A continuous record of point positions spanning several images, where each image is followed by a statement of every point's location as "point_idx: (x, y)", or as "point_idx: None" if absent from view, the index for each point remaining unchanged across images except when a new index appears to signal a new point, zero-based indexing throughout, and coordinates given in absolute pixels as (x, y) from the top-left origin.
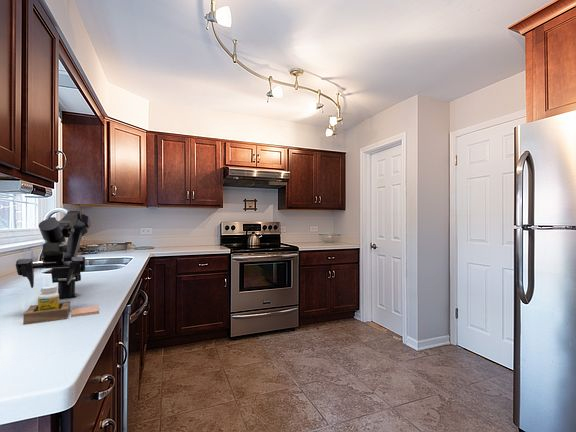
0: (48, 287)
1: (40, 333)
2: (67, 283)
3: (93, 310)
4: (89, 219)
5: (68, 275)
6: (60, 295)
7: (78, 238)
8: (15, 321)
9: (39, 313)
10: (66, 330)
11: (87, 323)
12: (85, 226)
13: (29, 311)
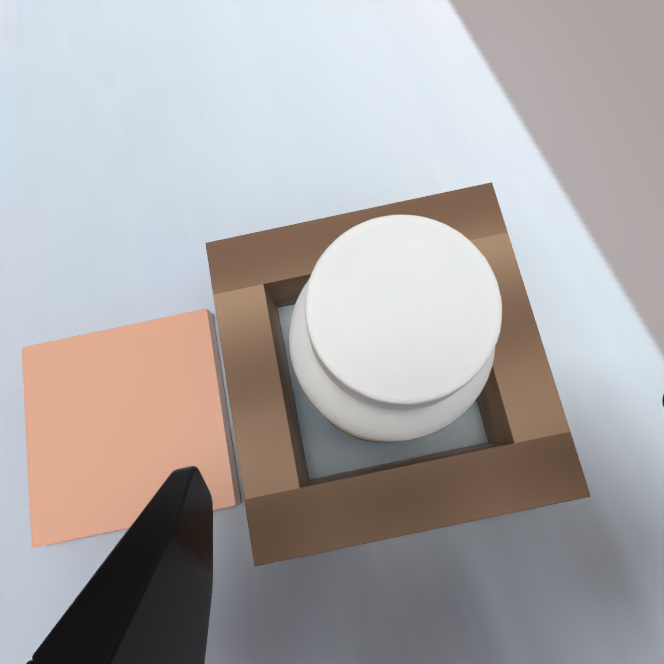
0: (398, 283)
1: (296, 30)
2: (180, 468)
3: (61, 377)
4: None
5: (115, 604)
6: None
7: None
8: (570, 319)
9: (390, 206)
10: (175, 42)
11: (84, 135)
12: None
13: (489, 263)
